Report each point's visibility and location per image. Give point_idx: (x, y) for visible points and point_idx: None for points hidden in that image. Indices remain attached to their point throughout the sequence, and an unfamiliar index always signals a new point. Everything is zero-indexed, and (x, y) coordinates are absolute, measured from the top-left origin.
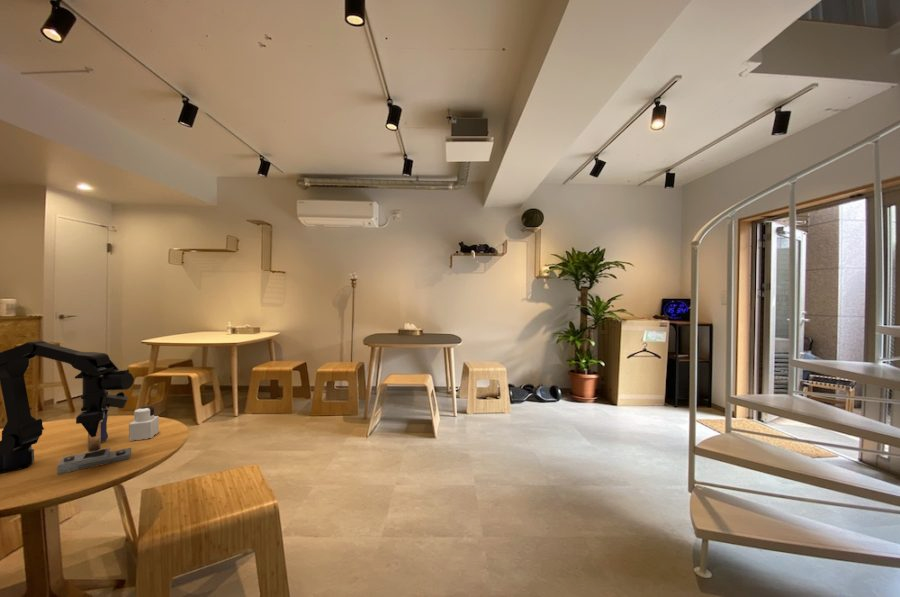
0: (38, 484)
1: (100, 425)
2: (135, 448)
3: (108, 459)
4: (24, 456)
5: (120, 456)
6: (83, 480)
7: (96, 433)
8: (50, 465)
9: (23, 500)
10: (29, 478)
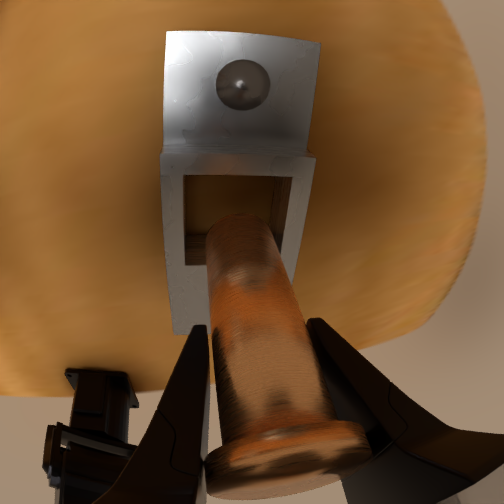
0: None
1: (293, 384)
2: (120, 19)
3: (305, 143)
4: (110, 409)
5: (314, 87)
6: (420, 215)
7: (332, 333)
8: (137, 333)
9: (412, 317)
10: None
